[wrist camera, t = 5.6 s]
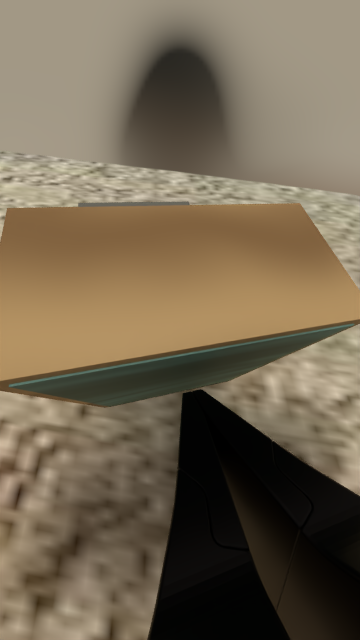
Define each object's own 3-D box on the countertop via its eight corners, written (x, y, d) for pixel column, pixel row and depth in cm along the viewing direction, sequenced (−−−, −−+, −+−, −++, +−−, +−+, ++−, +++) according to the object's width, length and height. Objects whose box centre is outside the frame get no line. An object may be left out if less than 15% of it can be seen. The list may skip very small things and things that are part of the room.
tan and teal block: (230, 381, 16) (378, 317, 6) (104, 408, 14) (-30, 389, 4) (213, 325, 18) (299, 203, 8) (101, 343, 16) (7, 208, 6)
